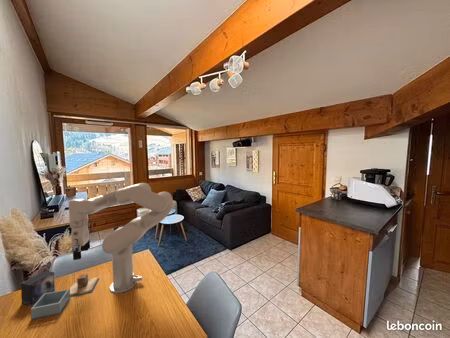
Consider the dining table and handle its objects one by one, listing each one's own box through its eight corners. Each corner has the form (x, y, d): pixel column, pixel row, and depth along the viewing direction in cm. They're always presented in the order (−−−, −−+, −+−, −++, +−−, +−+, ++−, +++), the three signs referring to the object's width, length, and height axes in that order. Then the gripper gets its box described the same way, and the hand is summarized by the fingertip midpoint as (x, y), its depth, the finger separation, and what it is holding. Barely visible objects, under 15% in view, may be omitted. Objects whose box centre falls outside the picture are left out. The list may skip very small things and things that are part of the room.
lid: (98, 278, 108) (97, 268, 108) (91, 291, 98) (91, 280, 97) (75, 283, 105) (74, 272, 104) (65, 296, 94) (64, 285, 94)
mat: (99, 278, 109) (99, 278, 109) (92, 292, 97) (92, 292, 97) (74, 283, 105) (74, 282, 105) (63, 298, 94) (63, 297, 94)
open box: (70, 298, 94) (69, 288, 93) (60, 314, 84) (59, 303, 84) (44, 303, 90) (44, 293, 90) (31, 320, 81) (30, 309, 81)
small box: (31, 306, 89) (30, 284, 88) (20, 304, 90) (19, 283, 89) (55, 291, 99) (54, 271, 98) (45, 289, 100) (44, 270, 100)
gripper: (81, 227, 92) (83, 261, 93) (93, 217, 108) (94, 246, 109) (62, 229, 90) (64, 264, 91) (77, 218, 106) (79, 248, 107)
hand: (81, 254), depth 100 cm, fingers open, 9 cm apart
